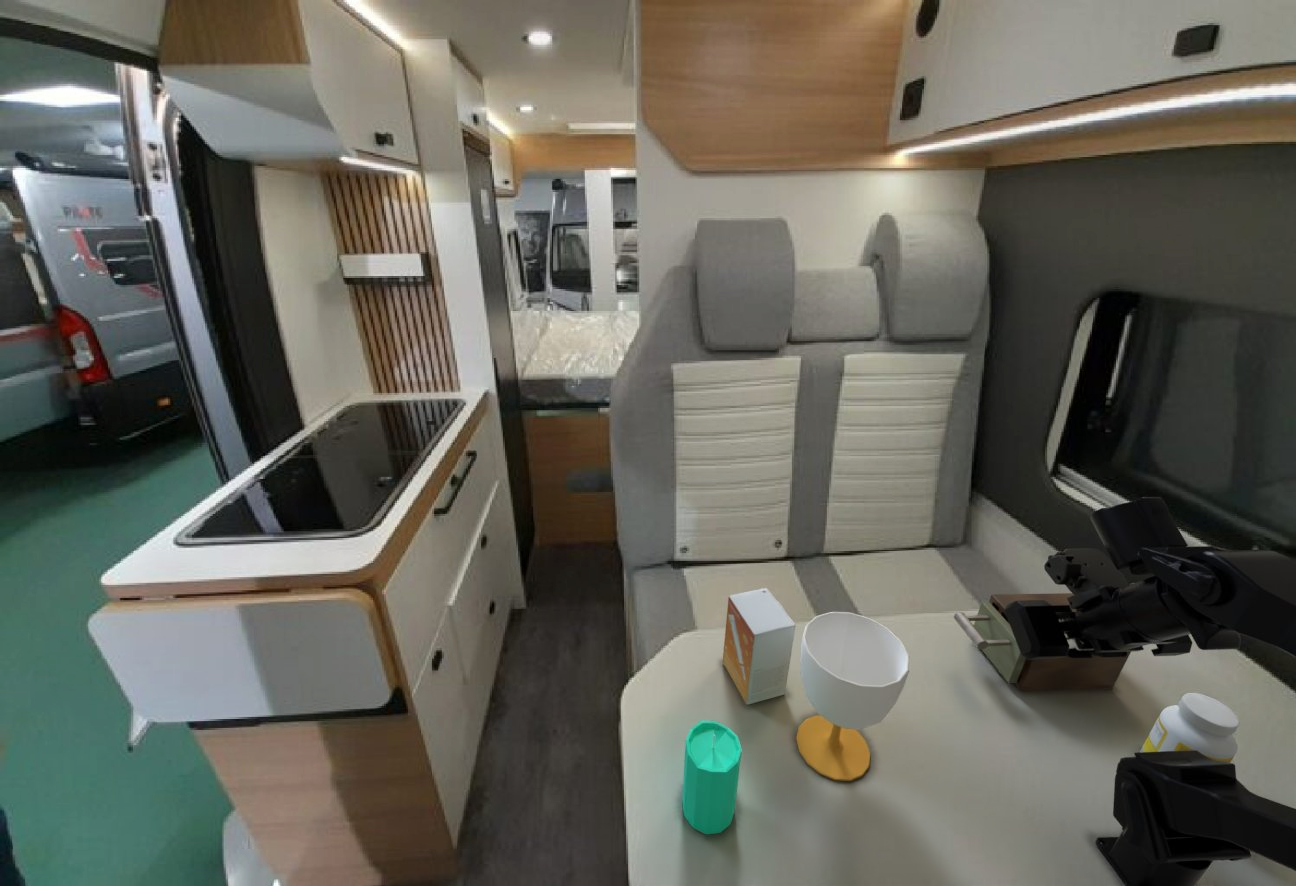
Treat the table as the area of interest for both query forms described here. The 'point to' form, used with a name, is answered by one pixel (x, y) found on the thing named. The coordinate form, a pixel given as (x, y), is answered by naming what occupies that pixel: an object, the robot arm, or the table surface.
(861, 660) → the cup
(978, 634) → the drawer
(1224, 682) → the table surface
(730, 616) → the small box
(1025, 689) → the cabinet
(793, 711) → the table surface
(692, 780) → the candle
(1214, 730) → the pill bottle
